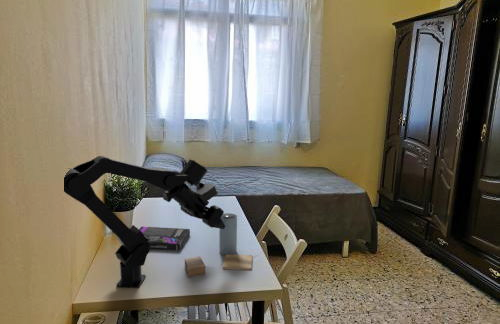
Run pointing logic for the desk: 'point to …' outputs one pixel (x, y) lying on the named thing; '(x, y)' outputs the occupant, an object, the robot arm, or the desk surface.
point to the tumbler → (228, 235)
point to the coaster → (238, 262)
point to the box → (166, 237)
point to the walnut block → (195, 266)
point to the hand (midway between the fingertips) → (216, 223)
